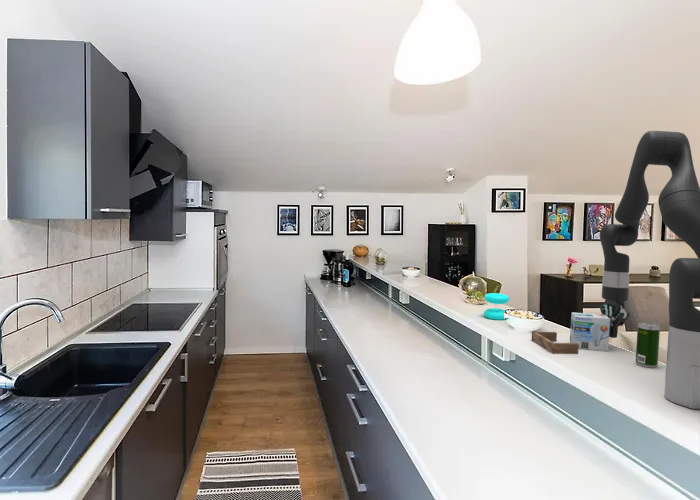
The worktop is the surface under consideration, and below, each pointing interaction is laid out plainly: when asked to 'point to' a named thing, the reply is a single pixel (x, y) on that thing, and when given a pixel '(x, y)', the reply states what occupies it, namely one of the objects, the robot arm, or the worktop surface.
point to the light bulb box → (590, 331)
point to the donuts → (495, 299)
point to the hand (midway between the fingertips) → (612, 337)
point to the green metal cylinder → (647, 345)
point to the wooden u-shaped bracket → (546, 342)
